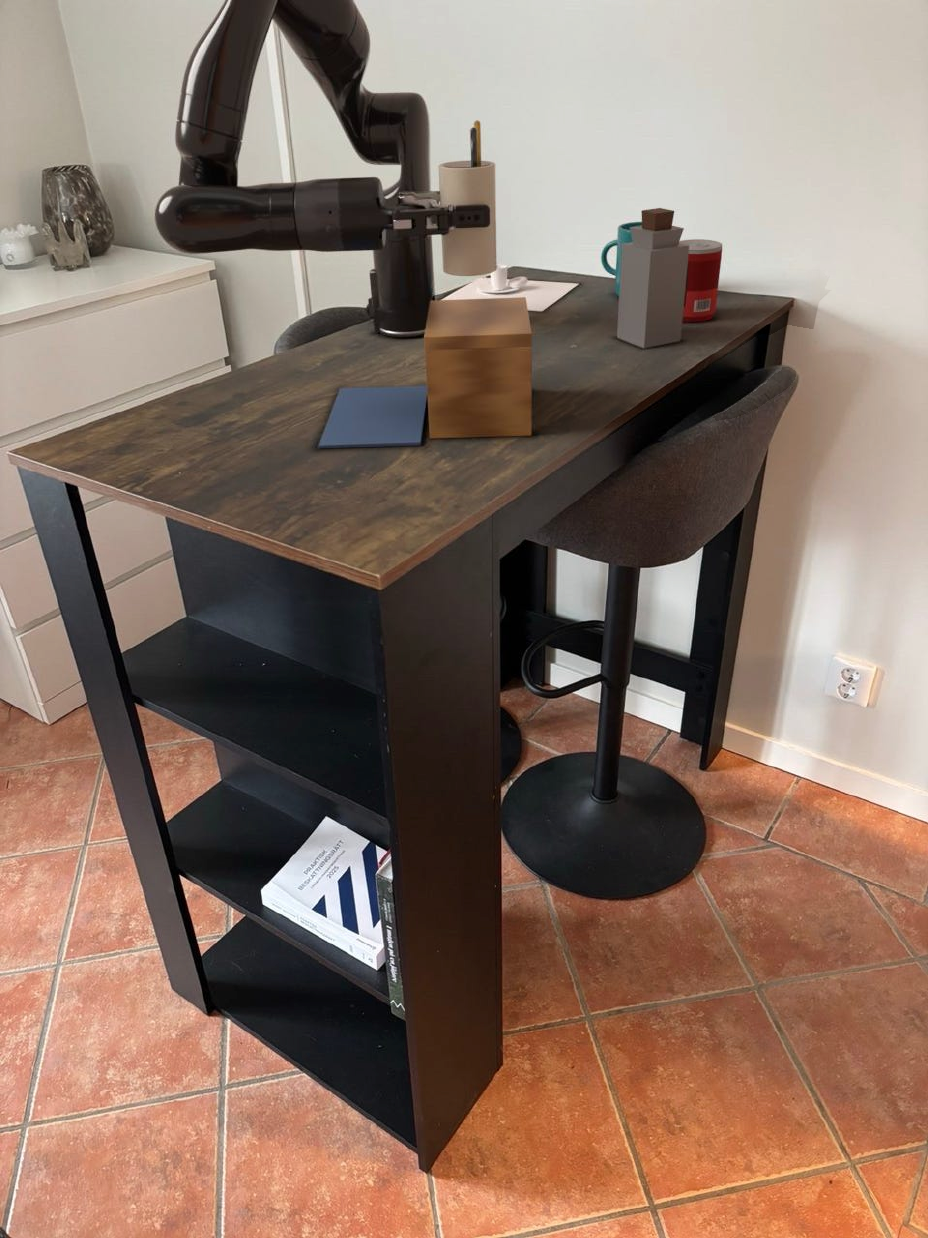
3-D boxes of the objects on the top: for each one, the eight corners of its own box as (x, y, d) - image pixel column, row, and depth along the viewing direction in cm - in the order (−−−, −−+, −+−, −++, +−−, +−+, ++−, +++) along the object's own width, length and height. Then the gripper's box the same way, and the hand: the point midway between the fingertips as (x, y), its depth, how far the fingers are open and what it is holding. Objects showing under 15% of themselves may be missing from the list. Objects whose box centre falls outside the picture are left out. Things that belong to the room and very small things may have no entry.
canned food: (721, 312, 149) (729, 240, 143) (704, 325, 143) (712, 250, 137) (676, 307, 152) (683, 237, 146) (658, 319, 147) (664, 247, 141)
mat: (318, 448, 107) (318, 445, 107) (340, 390, 124) (340, 388, 124) (420, 445, 107) (420, 442, 106) (428, 388, 123) (428, 385, 123)
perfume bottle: (643, 348, 134) (653, 216, 125) (616, 337, 140) (623, 210, 130) (680, 340, 137) (692, 210, 127) (652, 330, 142) (662, 204, 132)
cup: (608, 285, 167) (611, 219, 161) (673, 290, 162) (678, 222, 156) (591, 297, 160) (593, 228, 154) (657, 303, 155) (663, 232, 149)
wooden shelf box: (430, 438, 108) (423, 336, 102) (435, 392, 122) (430, 300, 115) (531, 435, 108) (531, 333, 101) (525, 389, 121) (525, 296, 115)
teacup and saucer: (531, 286, 168) (531, 262, 166) (515, 296, 162) (515, 272, 160) (487, 283, 171) (487, 260, 169) (470, 293, 165) (469, 270, 163)
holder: (434, 274, 104) (427, 123, 96) (454, 262, 109) (449, 117, 100) (486, 277, 102) (483, 123, 94) (503, 264, 107) (502, 117, 98)
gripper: (328, 188, 94) (490, 182, 94) (344, 169, 106) (488, 163, 106) (336, 264, 98) (491, 259, 98) (351, 237, 110) (489, 232, 110)
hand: (489, 209), depth 102 cm, fingers closed on holder, 6 cm apart
